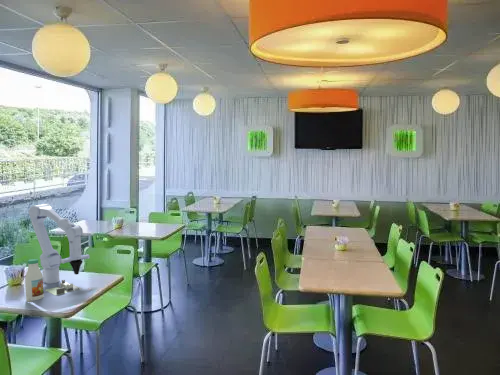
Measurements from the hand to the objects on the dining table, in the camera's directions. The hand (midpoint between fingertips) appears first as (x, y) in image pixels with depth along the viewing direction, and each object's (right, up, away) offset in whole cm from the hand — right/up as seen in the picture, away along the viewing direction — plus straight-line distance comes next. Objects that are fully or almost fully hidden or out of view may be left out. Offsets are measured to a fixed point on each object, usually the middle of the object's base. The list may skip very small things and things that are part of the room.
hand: (76, 274), depth 231 cm
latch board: (-4, -8, -8) cm, 11 cm away
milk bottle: (-12, -9, -20) cm, 25 cm away
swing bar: (-3, -6, -6) cm, 9 cm away
